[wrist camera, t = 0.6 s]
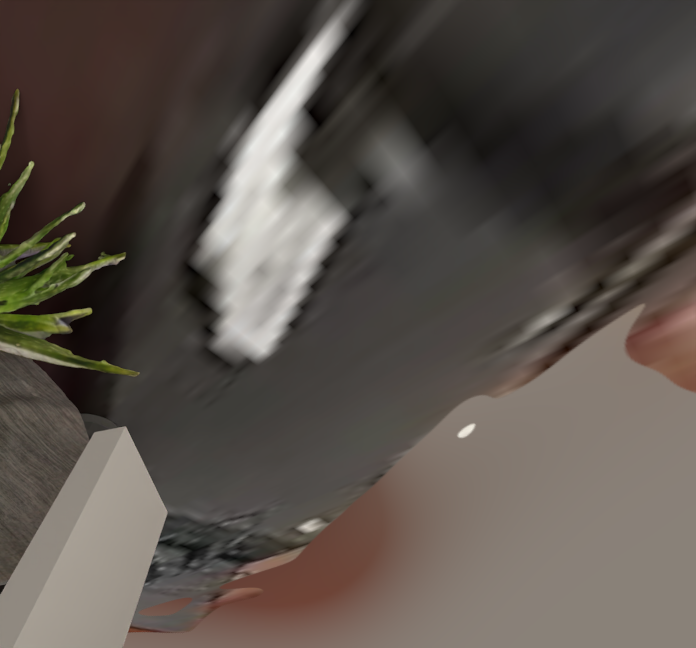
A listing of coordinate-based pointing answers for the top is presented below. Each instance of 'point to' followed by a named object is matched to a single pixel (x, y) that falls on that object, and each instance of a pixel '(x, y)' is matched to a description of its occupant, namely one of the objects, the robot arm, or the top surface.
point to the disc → (36, 376)
